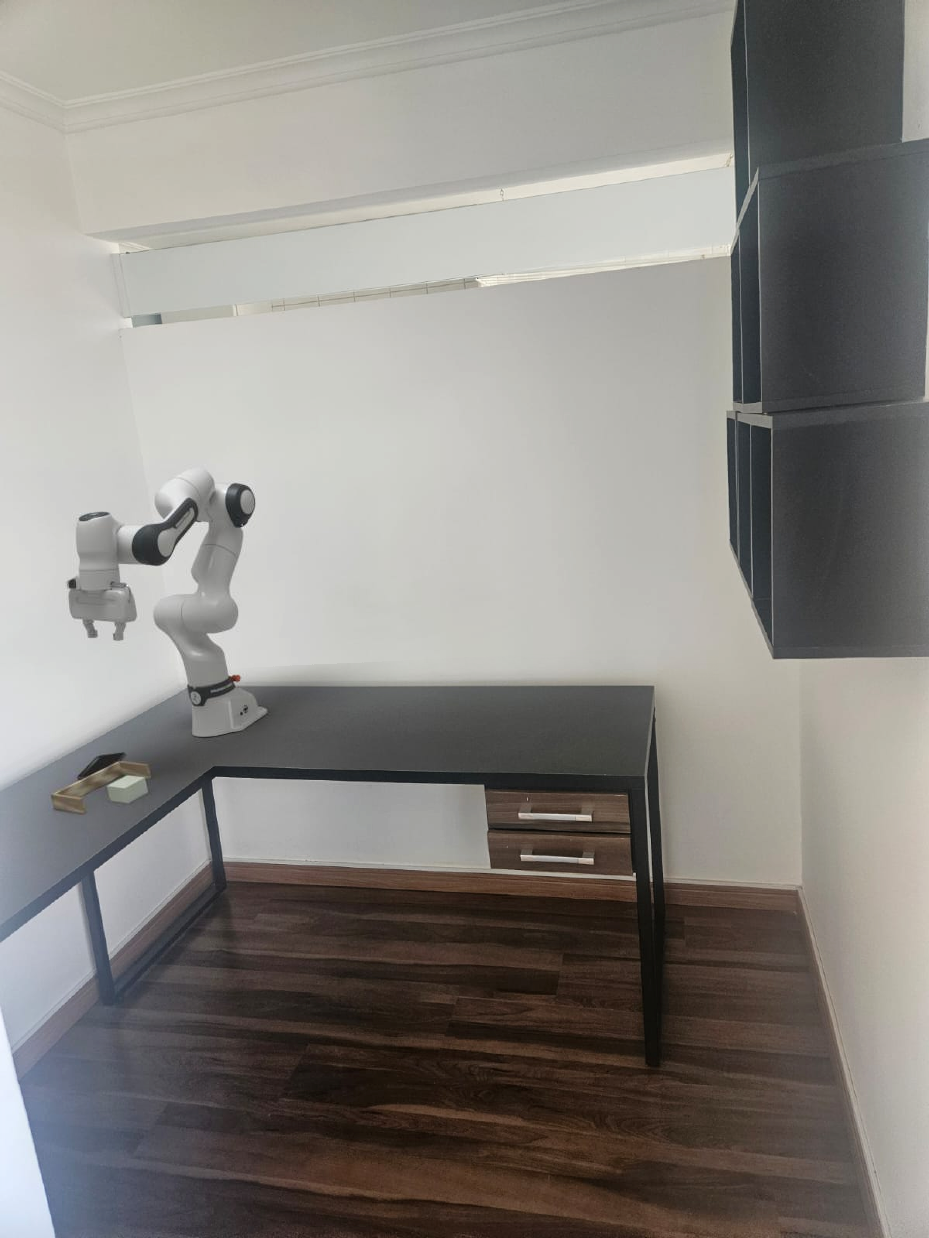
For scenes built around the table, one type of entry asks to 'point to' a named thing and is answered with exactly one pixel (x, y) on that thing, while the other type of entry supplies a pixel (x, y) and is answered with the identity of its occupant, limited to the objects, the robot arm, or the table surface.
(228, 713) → the robot arm
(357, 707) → the table surface
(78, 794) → the wooden u-shaped bracket
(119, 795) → the sage block
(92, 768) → the phone
